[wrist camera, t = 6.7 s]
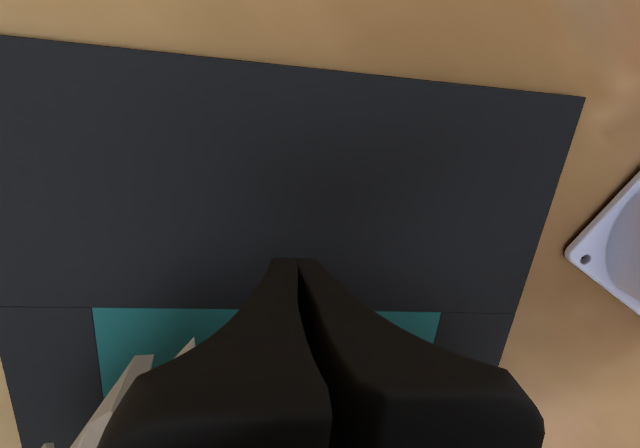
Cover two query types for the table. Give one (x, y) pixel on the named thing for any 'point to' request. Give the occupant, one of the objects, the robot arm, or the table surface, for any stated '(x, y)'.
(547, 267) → the table surface
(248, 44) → the table surface
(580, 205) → the table surface
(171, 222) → the mat
